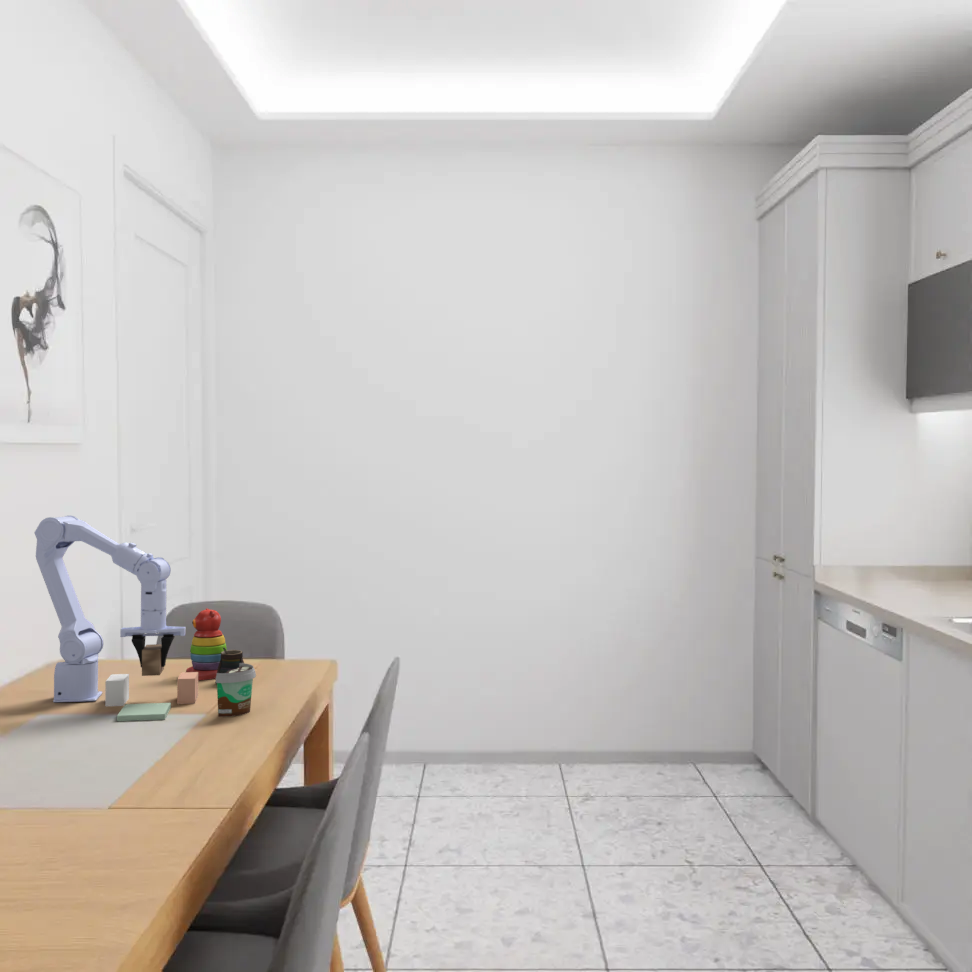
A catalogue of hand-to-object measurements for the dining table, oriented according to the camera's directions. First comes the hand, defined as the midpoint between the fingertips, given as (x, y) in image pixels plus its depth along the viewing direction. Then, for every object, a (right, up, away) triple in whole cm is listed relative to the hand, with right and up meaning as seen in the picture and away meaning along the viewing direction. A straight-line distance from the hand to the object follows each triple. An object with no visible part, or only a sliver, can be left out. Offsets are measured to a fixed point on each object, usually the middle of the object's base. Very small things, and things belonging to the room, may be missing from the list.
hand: (153, 666), depth 221 cm
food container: (+23, -9, -8) cm, 26 cm away
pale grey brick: (-8, -8, -1) cm, 12 cm away
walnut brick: (0, -1, 0) cm, 1 cm away
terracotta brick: (+8, -9, +2) cm, 12 cm away
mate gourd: (+13, -8, +20) cm, 26 cm away
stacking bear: (+5, -8, +28) cm, 29 cm away
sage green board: (+2, -9, -12) cm, 15 cm away
